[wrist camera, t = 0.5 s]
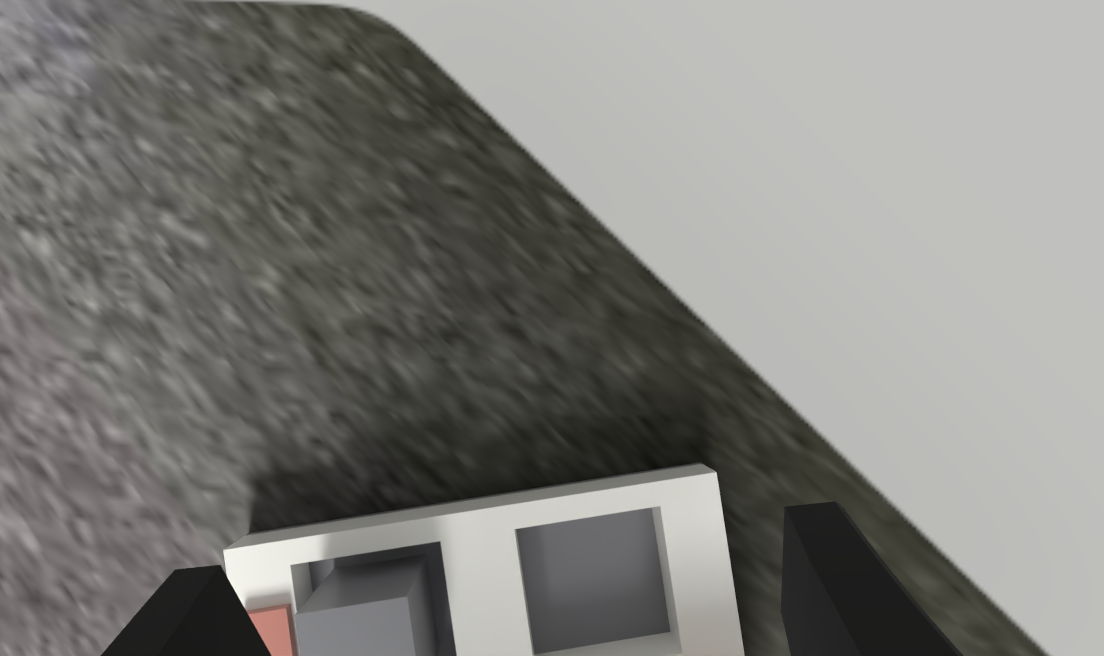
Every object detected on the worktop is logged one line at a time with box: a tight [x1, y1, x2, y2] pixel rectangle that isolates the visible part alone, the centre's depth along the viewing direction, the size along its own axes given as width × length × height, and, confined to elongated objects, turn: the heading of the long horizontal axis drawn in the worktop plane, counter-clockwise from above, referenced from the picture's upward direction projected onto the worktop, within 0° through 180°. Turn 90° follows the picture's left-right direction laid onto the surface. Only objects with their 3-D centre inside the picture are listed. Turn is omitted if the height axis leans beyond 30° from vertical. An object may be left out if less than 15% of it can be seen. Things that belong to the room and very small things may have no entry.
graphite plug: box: [295, 554, 439, 656], centre depth 31 cm, size 4×4×6 cm
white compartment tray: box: [223, 462, 745, 656], centre depth 33 cm, size 8×20×4 cm, turn 98°
